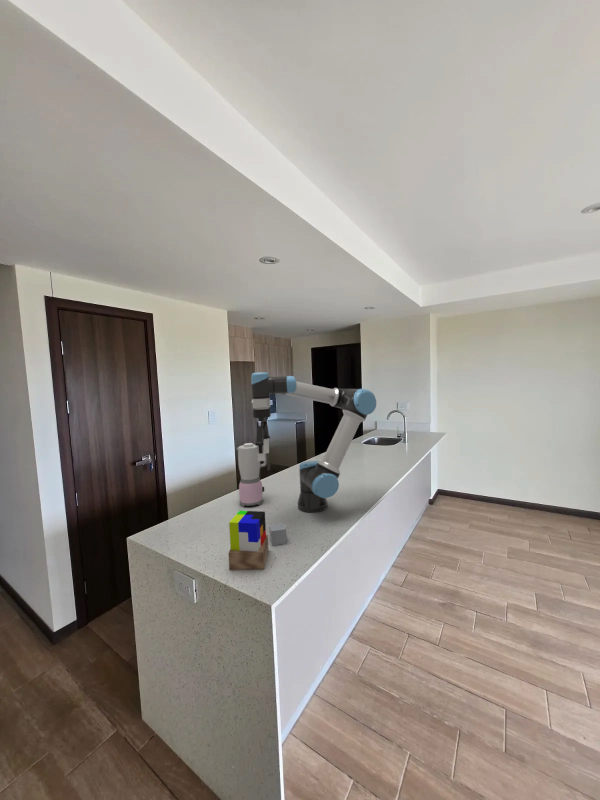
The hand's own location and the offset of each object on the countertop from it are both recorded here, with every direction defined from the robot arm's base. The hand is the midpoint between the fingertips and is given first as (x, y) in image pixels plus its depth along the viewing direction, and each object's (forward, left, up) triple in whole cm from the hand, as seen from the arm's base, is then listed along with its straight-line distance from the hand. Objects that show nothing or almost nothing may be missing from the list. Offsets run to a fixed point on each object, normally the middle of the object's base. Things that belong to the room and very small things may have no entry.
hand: (263, 456), depth 139 cm
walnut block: (+3, +25, -32) cm, 40 cm away
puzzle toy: (+3, +25, -26) cm, 36 cm away
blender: (+11, -29, -32) cm, 44 cm away
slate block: (-6, +12, -32) cm, 35 cm away
